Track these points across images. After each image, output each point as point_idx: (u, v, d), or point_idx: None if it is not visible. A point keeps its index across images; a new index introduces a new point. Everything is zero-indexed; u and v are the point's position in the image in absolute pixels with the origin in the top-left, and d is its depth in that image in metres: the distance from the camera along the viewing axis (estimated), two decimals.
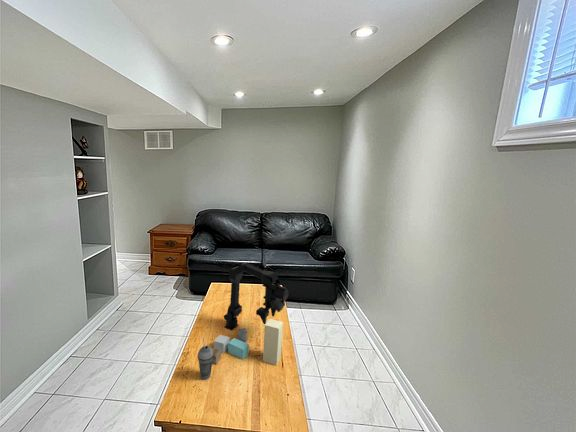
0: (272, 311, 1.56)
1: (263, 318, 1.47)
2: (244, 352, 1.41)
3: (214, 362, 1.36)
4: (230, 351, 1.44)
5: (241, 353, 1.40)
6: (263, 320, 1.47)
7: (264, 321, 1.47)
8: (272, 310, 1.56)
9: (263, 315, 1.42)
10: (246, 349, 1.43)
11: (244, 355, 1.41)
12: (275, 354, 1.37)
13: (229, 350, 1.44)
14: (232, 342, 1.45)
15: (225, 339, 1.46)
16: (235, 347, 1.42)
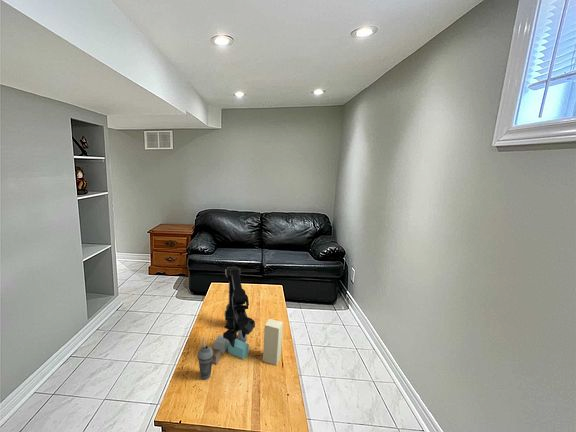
0: (243, 332, 1.48)
1: (231, 341, 1.38)
2: (244, 352, 1.41)
3: (214, 362, 1.36)
4: (230, 351, 1.44)
5: (241, 353, 1.40)
6: (231, 343, 1.39)
7: (232, 344, 1.39)
8: (243, 331, 1.48)
9: (230, 339, 1.33)
10: (246, 349, 1.43)
11: (244, 355, 1.41)
12: (275, 354, 1.37)
13: (229, 350, 1.44)
14: None
15: (225, 339, 1.46)
16: (235, 347, 1.42)
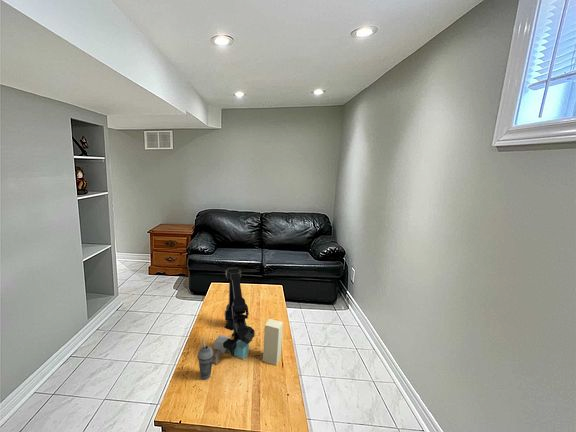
0: (243, 341, 1.48)
1: (231, 350, 1.39)
2: (244, 352, 1.41)
3: (214, 362, 1.36)
4: None
5: (241, 353, 1.40)
6: (231, 352, 1.40)
7: (232, 353, 1.40)
8: (242, 340, 1.49)
9: (230, 348, 1.34)
10: (246, 349, 1.43)
11: (244, 355, 1.41)
12: (275, 354, 1.37)
13: None
14: None
15: (225, 339, 1.46)
16: None
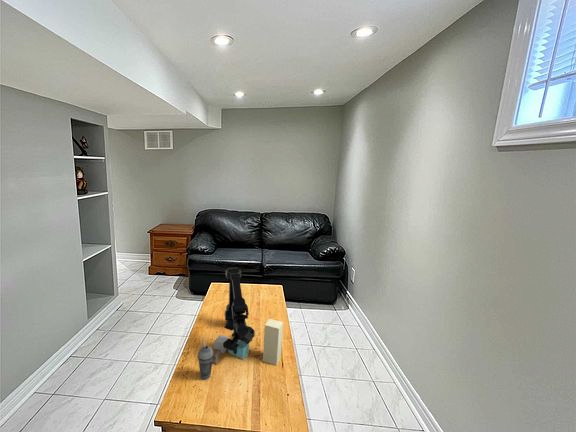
0: None
1: (233, 348, 1.41)
2: (244, 352, 1.41)
3: (214, 362, 1.36)
4: (230, 351, 1.44)
5: (241, 353, 1.40)
6: (233, 350, 1.41)
7: (234, 351, 1.41)
8: None
9: (230, 348, 1.34)
10: (246, 348, 1.43)
11: (244, 355, 1.41)
12: (275, 354, 1.37)
13: (229, 350, 1.44)
14: None
15: (225, 339, 1.46)
16: None
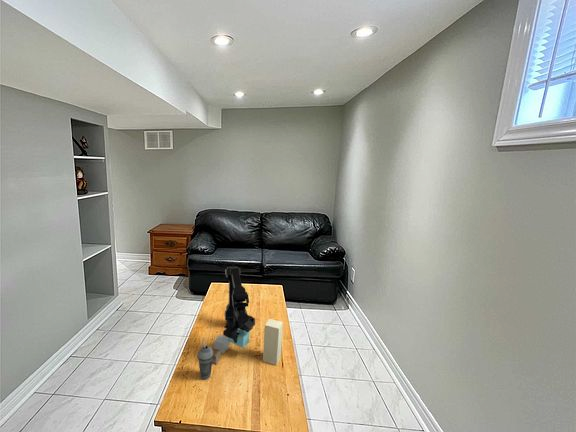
0: None
1: (233, 337, 1.39)
2: (245, 340, 1.40)
3: (214, 362, 1.36)
4: (230, 340, 1.43)
5: (241, 341, 1.39)
6: (234, 339, 1.40)
7: (235, 340, 1.40)
8: None
9: (230, 336, 1.33)
10: (247, 337, 1.41)
11: (244, 343, 1.40)
12: (275, 354, 1.37)
13: (229, 339, 1.43)
14: None
15: (225, 339, 1.46)
16: None
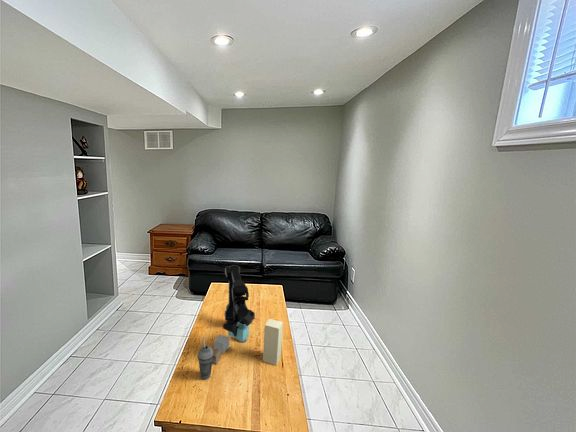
0: None
1: (233, 330, 1.40)
2: (244, 334, 1.41)
3: (214, 362, 1.36)
4: (230, 333, 1.44)
5: (241, 335, 1.40)
6: (233, 332, 1.41)
7: (234, 333, 1.41)
8: None
9: (230, 330, 1.34)
10: (246, 331, 1.42)
11: (244, 337, 1.41)
12: (275, 354, 1.37)
13: (229, 332, 1.44)
14: None
15: (225, 339, 1.46)
16: None
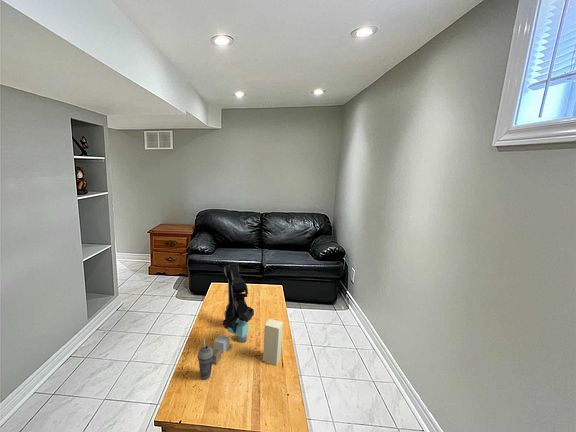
0: None
1: (233, 327, 1.43)
2: (244, 330, 1.43)
3: (214, 362, 1.36)
4: (230, 330, 1.46)
5: (240, 331, 1.43)
6: (233, 329, 1.43)
7: (234, 330, 1.44)
8: None
9: (229, 326, 1.36)
10: (246, 327, 1.45)
11: (243, 333, 1.44)
12: (275, 354, 1.37)
13: (229, 329, 1.47)
14: None
15: (225, 339, 1.46)
16: None
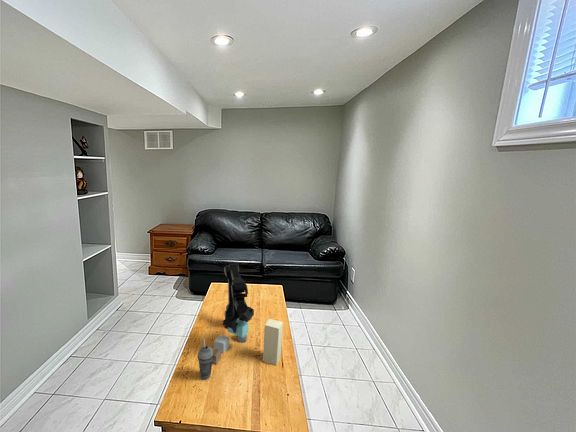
0: None
1: (233, 327, 1.43)
2: (244, 330, 1.43)
3: (214, 362, 1.36)
4: (230, 330, 1.46)
5: (240, 331, 1.43)
6: (233, 329, 1.43)
7: (234, 330, 1.44)
8: None
9: (229, 326, 1.36)
10: (246, 327, 1.45)
11: (243, 333, 1.44)
12: (275, 354, 1.37)
13: (229, 329, 1.47)
14: None
15: (225, 339, 1.46)
16: None
